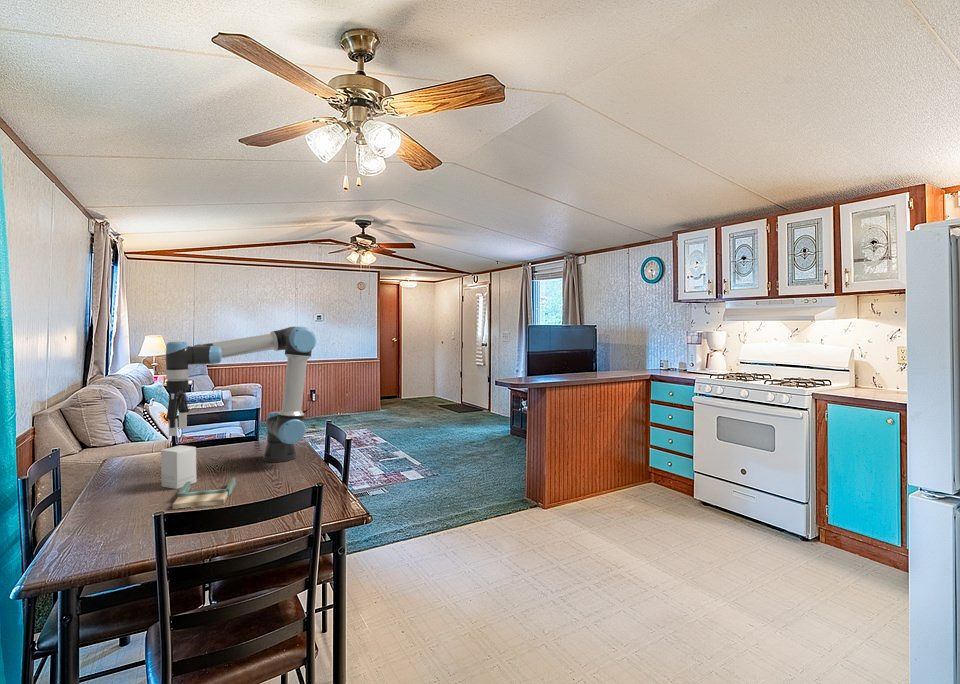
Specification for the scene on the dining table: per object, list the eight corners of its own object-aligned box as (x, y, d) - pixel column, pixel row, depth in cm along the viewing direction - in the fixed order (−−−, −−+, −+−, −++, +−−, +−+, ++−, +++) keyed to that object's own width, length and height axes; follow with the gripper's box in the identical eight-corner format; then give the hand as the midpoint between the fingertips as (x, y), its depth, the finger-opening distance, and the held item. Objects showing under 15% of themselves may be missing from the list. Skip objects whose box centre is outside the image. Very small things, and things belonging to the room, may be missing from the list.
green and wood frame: (235, 484, 191) (235, 477, 191) (225, 504, 170) (225, 496, 170) (187, 489, 185) (187, 481, 185) (170, 509, 164) (170, 501, 164)
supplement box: (197, 482, 193) (197, 446, 193) (177, 489, 185) (176, 452, 184) (181, 479, 196) (180, 444, 196) (160, 486, 188) (160, 449, 187)
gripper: (175, 376, 199) (176, 426, 200) (156, 383, 176) (157, 439, 177) (195, 376, 202) (196, 425, 203) (179, 383, 178) (180, 438, 179)
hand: (178, 432), depth 190 cm, fingers open, 13 cm apart
